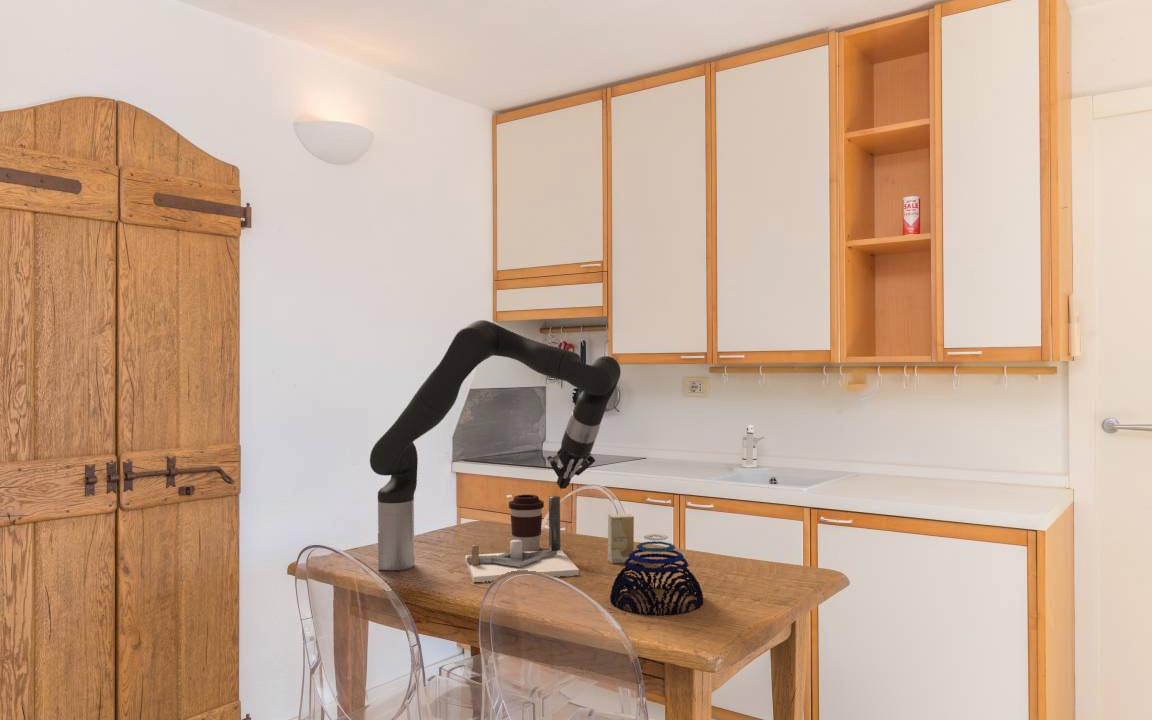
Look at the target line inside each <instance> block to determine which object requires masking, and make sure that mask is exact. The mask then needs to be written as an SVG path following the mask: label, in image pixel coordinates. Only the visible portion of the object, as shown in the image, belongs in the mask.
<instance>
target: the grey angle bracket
mask: <svg viewBox="0 0 1152 720" xmlns="http://www.w3.org/2000/svg"><path fill="white" fill-rule="evenodd" d="M558 550H562V549H561V496H559V495H550V496H548V549H544V550H536V551H537V552H531V553H526V552H522V558H521V559H512V558H510V551H507V552H503V553H504V554H501V555H498V556H497V555H491V556H479V563H488V562H491V563H498V564H504V565H510V566H517V567H521V566H524V565H527V564H529V563H532V562H535V561H537V560H540V559H541V558H542V557H547V556H553V555H557V551H558ZM467 563H472V556H468V557H467Z"/></svg>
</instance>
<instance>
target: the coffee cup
mask: <svg viewBox="0 0 1152 720" xmlns="http://www.w3.org/2000/svg"><path fill="white" fill-rule="evenodd" d="M544 503H545V502H544V500H542V499H540V497H539V496H538V495H537V494H518V495H515V496H514V497H513V500H510V501H508V508H509V509H510V525H511V527H510V528H511V535H512V540H521V541H522V552H527V551H539V549H540V548H541V547H540V546H541V544H540V543H541V534H542V522H543V514H542V509H543V508H544V507H545V504H544Z"/></svg>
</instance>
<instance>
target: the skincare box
mask: <svg viewBox="0 0 1152 720" xmlns="http://www.w3.org/2000/svg"><path fill="white" fill-rule="evenodd" d="M607 517H608V518H607V519H608V521H607V523H608V525H607V561H609V562H610V564H624V562H625V561H626V560H627V559H628V558H629V554H631V553H632V552H633V551H635V550H634V549H635V548H634V547H635V545H634V536H635V534H634V533H635V531H634V530H635V525H634V524H635V523H634V522H635V516H633V514H631V513H616V514H615V513H613V514H612V513H611V514H608V515H607ZM629 562H631V563H634V560H631V561H629Z"/></svg>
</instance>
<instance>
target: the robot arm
mask: <svg viewBox="0 0 1152 720" xmlns="http://www.w3.org/2000/svg"><path fill="white" fill-rule="evenodd" d="M494 356H495V357H496V356H497V357H502V358H503V357H504V358H509V359H512V360H515V361H517V362H519V363H521V364H524V365H525V366H526V367H528V368H529V369H531V370H533V371H534V372H536V373H539V374H540V375H544V376H545V377H546V376H547V377H550V378H553V379H556V380H560V381H564V382H566V383H568V384H570V385H571V386H573V387H575V388H577V389H578V390H580V391H581V393H580V394H579V396H578V398H577V399H576V402H575V405H574V408H573V410H572V413H571V415H570V417H569V419H568V422H567V424H566V428H565V431H564V433H563V436H562V438H561V442H560V443H561V445H560V449H558V450H557V452H556V455H554V456H552V455H549V456H547V458H546V459H547V461H548V463H549V465H550V466H551V468H552V469H553V471H554V473H555V474H556V476H557V477H558V478H557V481H556V485H557V486H558V488H559V489H560V490H564V489H567V487H568V486H569V485H570V483H571V480H572V478H574V477H575V476H580V475H581V474H583V472H584V471H586V470H587V469H588V468H589V467H591V466H592V465H593V464H594V463H595V462H596V459H595V457H594V456H593V455H592V453H591V452H592V450H593V447H594V444H595V443H596V439H597V437H598V434H599V430H600V427H601V422H602V420H603V417H604V415H605V412H606V410H607V409H606V408H607V406H608V403H609V401H610V399H611V397H612V395H613V394H614V391H615V390H616V388H617V385H618V383H619V381H620V378H621V371H622V370H621V366H620V364H619V362H618V361H617V360H616V359H615V358H613V357H612V356H606V355H604V356H600V357H598V358H596V359H595V360H594V361H593V362H592V363H591V364H587V363H584V362H583V361H582V359H581V356H580V355H579V354H578V353H577V352H575V351H570V350H568V349H565V348H561V347H557V346H553V345H550V344H546V343H542V342H539V341H536V340H533V339H531V338H527V337H525V336H522V335H520V334H518V333H515V332H513V331H511V330H509V329H507V328H504V327H502V326H500V325H498V324H496V323H494V322H491V321H488V320H487V319H486V320H484V319H480V320H477V321H473V322H471V323H469V324H467V325H465V326H463V327H462V328H460V329H459V331H457V333H456V334H455V335H454V338H452V341H451V343H450V345H449V346H448V348H447V350H446V352H445V354H444V355H443V357H442V359H441V361H440V362H439V363H438V365H437V366H436V368H435V369H433V370H432V372H431V373H430V374H429V375H428V377H427V378H426V379H425V381H424V382H423V383H422V384H421V386H420V387H419V388H418V390H417V391H416V393H415V394H414V395H413V397H412V398H411V400H410V401H409V403H408V404H407V406H406V407H405V408H404V409H403V411H402V412H401V413H400V415H399V416H398V418H397V419H396V420H395V422H394V423H392V425H391V426H390V428H388V429H387V431H386V432H384V434H383V435H382V436H381V437H380V438H378V440H377V441H376V443H375V444H374V445H373V448H372V449H371V451H370V454H369V455H370V456H369V465H370V468H371V470H372V471H373V472H374V473H375V474H377V475H378V476H390V479H389V481H388V482H387V483H386V484H385V485H384V486H383V487H381V488H380V489H379V490H378V492H377V557H378V558H377V570H379V571H380V570H381V571H382V570H384V571H399V570H402V571H403V570H406V569H410V568H413V567H414V566H415V565H416V564H415V563H416V562H415V560H416V559H415V557H416V556H415V493H416V489H417V486H418V484H417V483H418V466H419V465H418V463H419V462H418V450H417V448H416V445H415V442H414V441H416V440H418V439H419V438H421V437H422V436H423V435H425V434H426V433H428V432H429V431H431V430H433V428H435V427H436V426H438V425H439V424H440V423H441V422H442V421H443V420H444V419H445V417H446V416H447V415H448V414H449V412H450V411H451V409H452V408H453V407H454V405H455V403H456V401H457V399H458V396H459V392H460V390H461V387H462V385H463V383H464V382H465V379H467V377H468V376H469V375H470V374H471V373H472V371H473V370H475V368H477V367H478V366H479V365H480V364H481V363H482V362H484V361H485V360H487V359H490V358H491V357H494ZM559 461H560V462H559ZM559 464H560V467H558V466H559Z"/></svg>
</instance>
